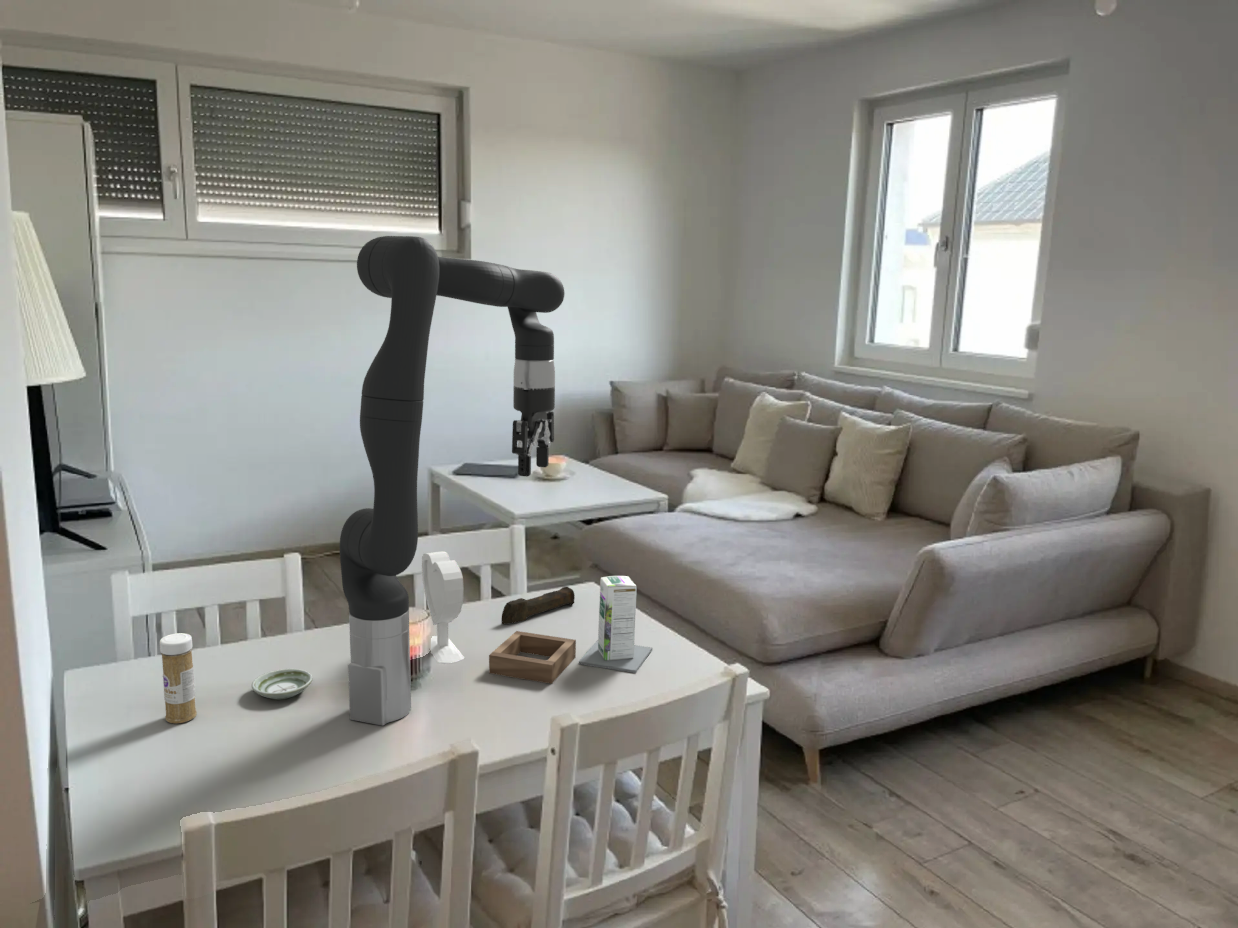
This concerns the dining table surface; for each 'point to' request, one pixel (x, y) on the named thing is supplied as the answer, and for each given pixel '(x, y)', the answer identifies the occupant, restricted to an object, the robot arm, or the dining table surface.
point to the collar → (531, 668)
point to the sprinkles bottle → (178, 677)
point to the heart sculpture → (443, 601)
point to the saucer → (282, 683)
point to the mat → (628, 665)
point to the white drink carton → (617, 618)
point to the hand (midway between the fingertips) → (533, 471)
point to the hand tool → (536, 605)
